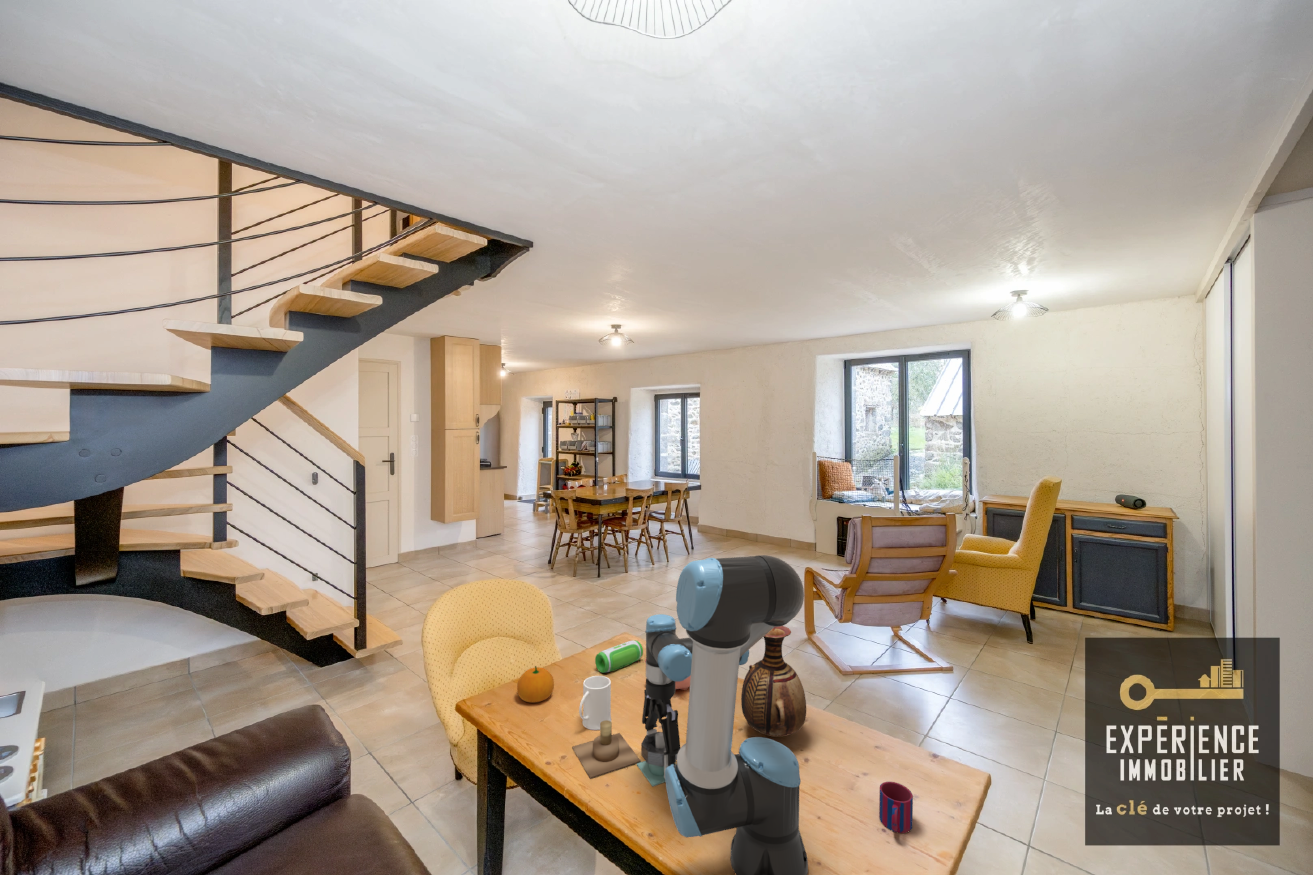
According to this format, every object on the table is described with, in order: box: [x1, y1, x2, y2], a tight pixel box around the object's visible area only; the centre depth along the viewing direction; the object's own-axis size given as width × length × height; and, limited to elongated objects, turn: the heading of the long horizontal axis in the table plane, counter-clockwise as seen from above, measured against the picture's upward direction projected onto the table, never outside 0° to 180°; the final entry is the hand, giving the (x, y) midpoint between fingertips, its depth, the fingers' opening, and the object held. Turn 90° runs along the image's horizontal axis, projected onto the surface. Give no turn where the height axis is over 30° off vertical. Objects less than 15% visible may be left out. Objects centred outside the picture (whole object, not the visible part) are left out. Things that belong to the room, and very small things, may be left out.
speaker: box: [594, 640, 644, 673], centre depth 190 cm, size 18×7×8 cm, turn 133°
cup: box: [878, 781, 914, 834], centre depth 114 cm, size 7×10×7 cm
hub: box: [572, 720, 642, 780], centre depth 138 cm, size 14×14×8 cm
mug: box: [578, 675, 612, 731], centre depth 152 cm, size 12×8×12 cm
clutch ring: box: [640, 731, 678, 767], centre depth 132 cm, size 9×9×3 cm
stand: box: [636, 733, 677, 788], centre depth 132 cm, size 9×9×9 cm
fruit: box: [516, 665, 555, 704], centre depth 167 cm, size 12×12×10 cm
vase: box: [740, 625, 807, 737], centre depth 148 cm, size 21×18×30 cm
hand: (660, 765), depth 132 cm, fingers closed on clutch ring, 9 cm apart
